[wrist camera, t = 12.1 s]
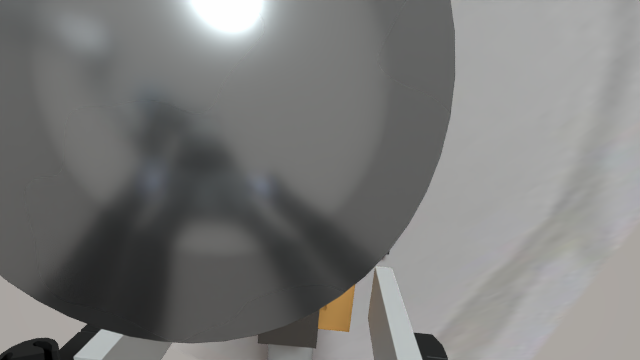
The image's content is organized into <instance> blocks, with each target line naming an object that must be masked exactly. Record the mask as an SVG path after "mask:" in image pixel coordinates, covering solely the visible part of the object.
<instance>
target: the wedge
mask: <svg viewBox="0 0 640 360" xmlns="http://www.w3.org/2000/svg"><path fill="white" fill-rule="evenodd" d="M319 312H320V309H319V310H317V311H316V312H314V313H312V314H310V315H308V316H306V317H303V318H301V319H299V320H297V321H295V322H292V323H290V324H288V325H286V326H283V327H280V328H277V329H274V330H271V331H267V332H264V333H261V334H258V343H261V344H272V345H284V346H295V347H307V348H316V342H317V332H318V322H319Z"/></svg>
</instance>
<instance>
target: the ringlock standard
mask: <svg viewBox="0 0 640 360" xmlns="http://www.w3.org/2000/svg"><path fill="white" fill-rule="evenodd" d="M454 81H455V30H454V23H453V16H452V8H451V1H450V0H0V275H1V276H2V277H3V278H4V279H5V280H7V281H8V282H10V283H11V284H13V285H14V286H16V287H17V288H19V289H20V290H22V291H23V292H25V293H26V294H28V295H30V296H31V297H33V298H34V299H36V300H37V301H39V302H41V303H43V304H45V305H47V306H49V307H51V308H53V309H55V310H57V311H59V312H61V313H63V314H65V315H67V316H69V317H71V318H74V319H77V320H79V321H82V322H84V323H87V324H89V325H92V326H94V327H97V328H100V329H104V330H107V331H111V332H115V333H118V334H122V335H126V336H129V337H135V338H141V339H148V340H154V341H160V342H178V343H204V342H219V341H228V340H233V339H238V338H244V337H249V336H255V335H258V334H261V333H264V332H267V331H271V330H274V329H277V328H280V327H283V326H286V325H288V324H290V323H292V322H295V321H297V320H299V319H301V318H303V317H306V316H308V315H310V314H312V313H314V312H316V311H317V310H319V309H320V308H322V307H324V306H325V305H327V304H329V303H330V302H332V301H333V300H335V299H337V298H338V297H340V296H341V295H342V294H344V293H345V292H346V291H347V290H349V289H350V288H351V287H352V286H354V285H355V284H356V283H357V282H359V281H360V280H361V279H362V278H363V277H365V276H366V275H367V274H368V273H369V272H370V271H371V269H372V268H373V267H374V266H375V265H376V264H377V263H378V262H379V261H380V260H381V259H382V258H383V257H384V256H385V255H386V254H389V250H390V249H391V248H392V246H393V245H394V243H395V242H396V241H397V239H398V238H399V237H400V235H401V234H402V233H403V231H404V230H405V228H406V227H407V226H408V224H409V223H410V221H411V219H412V217H413V216H414V214H415V212H416V210H417V208H418V206H419V205H420V203H421V201H422V199H423V197H424V195H425V194H426V192H427V189H428V187H429V184H430V182H431V179H432V177H433V174H434V171H435V169H436V166H437V164H438V161H439V159H440V156H441V152H442V148H443V144H444V140H445V136H446V132H447V128H448V124H449V120H450V115H451V106H452V98H453V89H454Z"/></svg>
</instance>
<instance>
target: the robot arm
mask: <svg viewBox="0 0 640 360" xmlns="http://www.w3.org/2000/svg"><path fill="white" fill-rule="evenodd" d="M368 321H369V328H370V335H371V341H372V348H373V355H374V360H448V357H447V355H446V352H445V350H444V348H443V346H442V344H441V343H440V342H439V341H438V340H437V339H436V338H435V337H434V336H433V335H431V334H422V333H413V330H412V327H411V324H410V321H409V318H408V315H407V312H406V309H405V306H404V303H403V300H402V297H401V294H400V291H399V288H398V285H397V282H396V279H395V276H394V273H393V270H392V268H389V267H379V266H375V271H374V278H373V285H372V292H371V300H370V307H369V314H368ZM171 344H172V342H160V341H154V340H148V339H141V338H135V337H129V336H126V335H122V334H118V333H115V332H111V331H107V330H104V329H100V328H97V327H94V326H92V325H89V324H87V325H86V326H85V327H84V328H83V329H81V332H78V333H77V334H76V335H75V336H74V337H73V338H72V339H71V340H70V341H68V342H67V343H66V344H65V345H64V346H63V347H62V348H61V349H60V350H59V347H58V343H57V342H56V341H55V340H53V339H50V338H36V339H32V340H28V341H24V342H22V343H20V344H17V345H15V346H13V347H11V348H9V349H8V350H6V351H5V352H3V353H2V354H1V355H0V360H161V359H162V358H163V356H164V355H165V353H166V351H167V350H168V348H169V347H170V345H171Z"/></svg>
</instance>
